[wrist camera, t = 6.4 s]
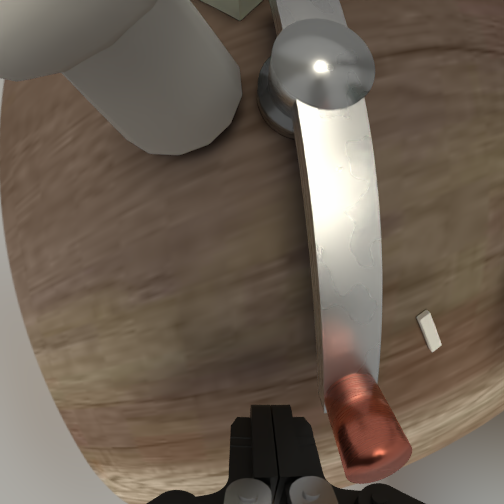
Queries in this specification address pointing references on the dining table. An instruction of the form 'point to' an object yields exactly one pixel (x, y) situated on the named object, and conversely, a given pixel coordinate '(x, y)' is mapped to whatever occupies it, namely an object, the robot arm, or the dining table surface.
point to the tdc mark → (429, 330)
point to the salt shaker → (129, 65)
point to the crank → (339, 224)
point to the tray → (234, 6)
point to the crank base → (272, 106)
